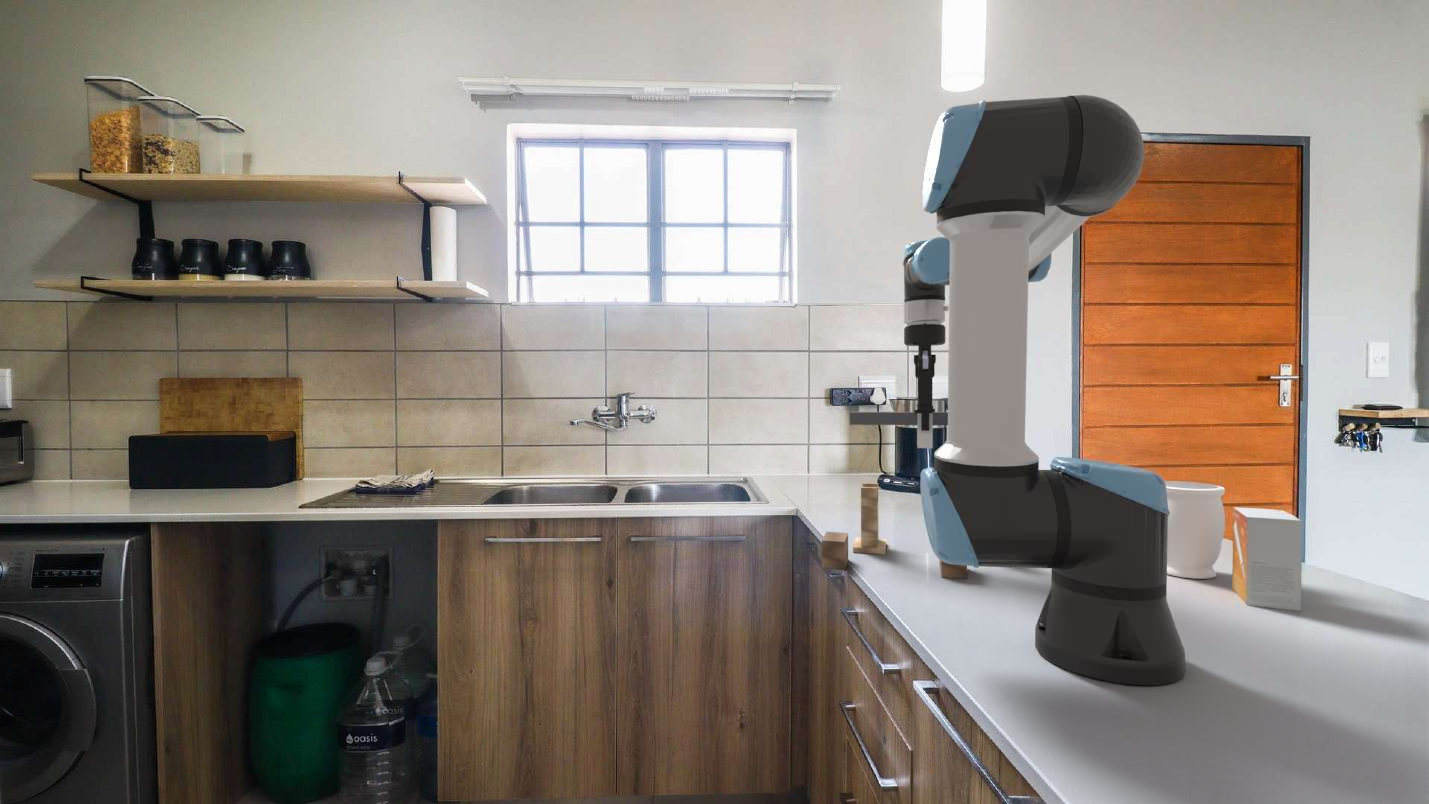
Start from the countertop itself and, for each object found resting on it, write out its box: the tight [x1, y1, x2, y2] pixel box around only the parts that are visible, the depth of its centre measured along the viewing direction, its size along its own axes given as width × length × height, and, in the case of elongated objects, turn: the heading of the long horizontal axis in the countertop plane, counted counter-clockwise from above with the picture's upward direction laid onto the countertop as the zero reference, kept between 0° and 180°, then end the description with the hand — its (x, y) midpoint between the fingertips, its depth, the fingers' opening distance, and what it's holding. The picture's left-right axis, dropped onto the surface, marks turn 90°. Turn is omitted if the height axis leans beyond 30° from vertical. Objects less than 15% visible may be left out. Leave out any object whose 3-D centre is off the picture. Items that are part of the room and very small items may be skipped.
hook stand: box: [852, 482, 887, 555], centre depth 124 cm, size 27×8×12 cm, turn 73°
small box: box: [1231, 506, 1303, 612], centre depth 95 cm, size 8×6×13 cm
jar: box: [1164, 480, 1226, 580], centre depth 109 cm, size 11×10×15 cm
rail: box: [849, 411, 948, 426], centre depth 123 cm, size 28×3×2 cm, turn 73°
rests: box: [821, 531, 968, 580], centre depth 113 cm, size 24×7×5 cm, turn 73°
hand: (924, 446), depth 123 cm, fingers closed on rail, 3 cm apart
